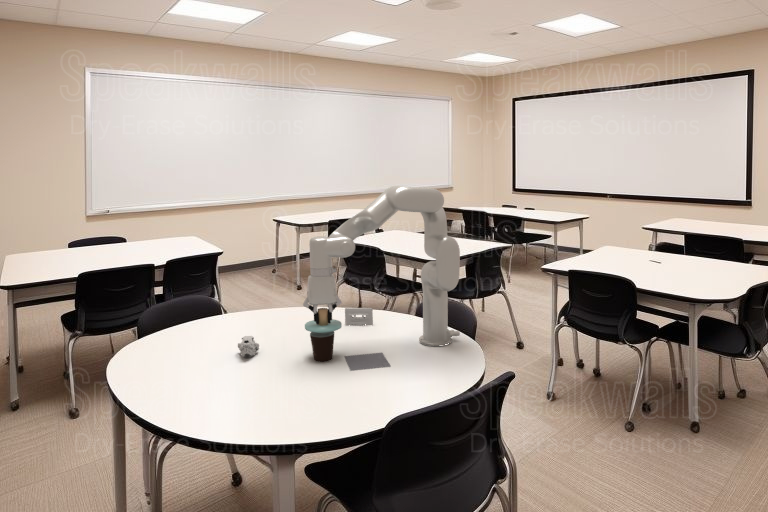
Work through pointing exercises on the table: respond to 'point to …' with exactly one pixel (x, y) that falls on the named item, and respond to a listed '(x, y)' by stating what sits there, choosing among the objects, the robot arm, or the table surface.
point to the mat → (366, 361)
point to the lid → (323, 323)
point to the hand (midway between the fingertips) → (323, 322)
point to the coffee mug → (322, 346)
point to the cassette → (358, 320)
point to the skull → (248, 346)
